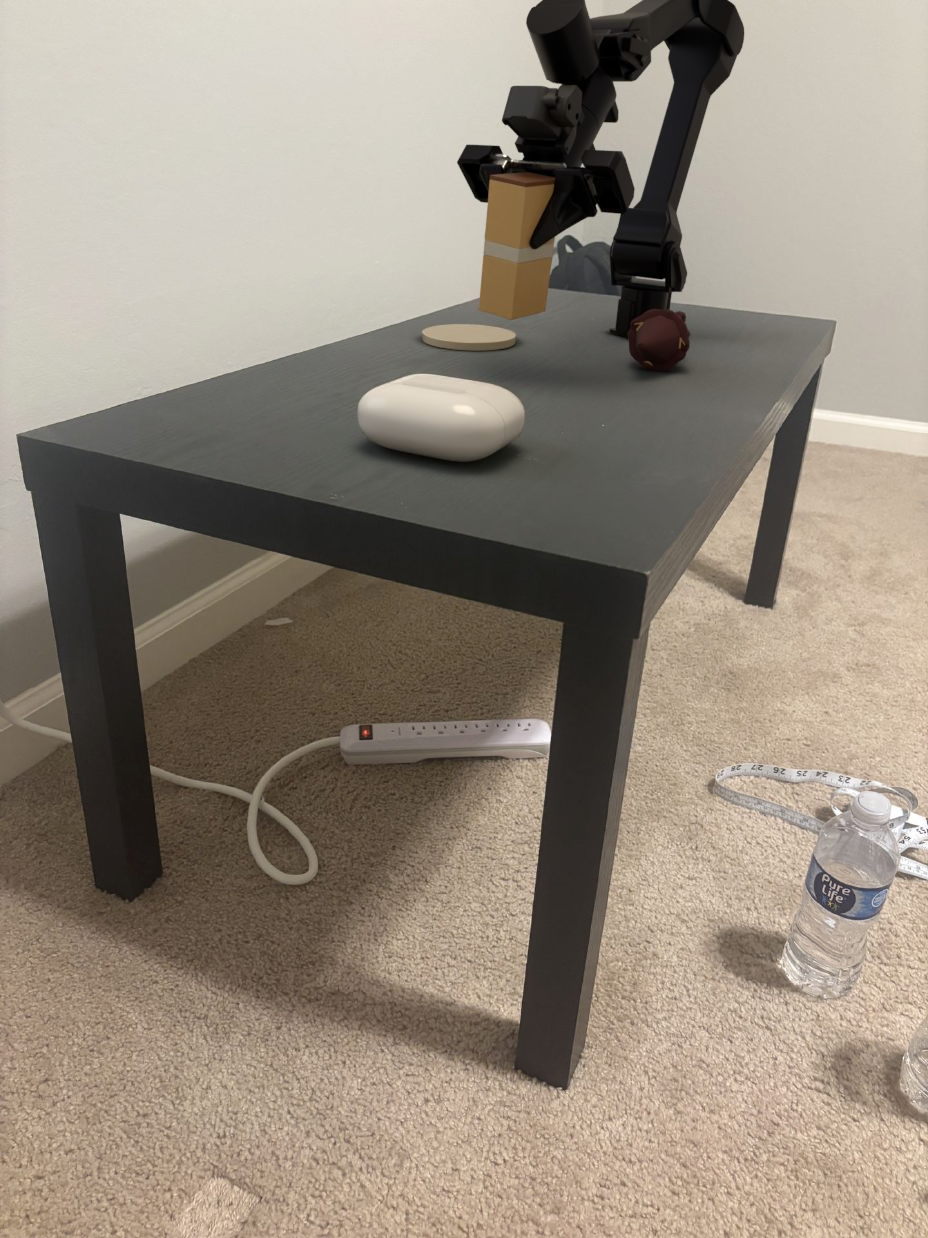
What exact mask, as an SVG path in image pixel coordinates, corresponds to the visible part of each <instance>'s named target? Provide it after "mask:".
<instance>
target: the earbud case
mask: <svg viewBox="0 0 928 1238" xmlns="http://www.w3.org/2000/svg"><path fill="white" fill-rule="evenodd" d="M356 407H357V409H356V416H357V417H356V419H357V424H358V428H359V429H360V431H361V432H362V434H363V435H364V436H365V437H366V438H367V439H368V440H370V441H371V442H372V443H374V444H376V445H378V446H381V447H383V448H386V449H389V450H394V451H398V452H403V453H408V454H413V455H417V456H423V457H428V458H433V459H439V460H444V461H448V462H449V461H450V462H455V463H468V462H475V461H480V460H483V459H485V458H487V457H489V456H492V455H493V454H495V453H497V452H498V451H500V450H502V449H503V448H505V447H506V446H508V445H509V444H511V443H512V442H515V440H517V438H519V437H520V435H521V434H522V432H523V431H524V428H525V423H526V410H525V406H524V404H523V403H522V401H521V400H520V399H519V397H518V396H517V395H516V394H515V393H513V392H512V391H510V390H509V389H506V388H505V387H503V386H500V385H497V384H493V383H489V382H483V381H479V380H473V379H472V380H471V379H466V378H461V377H460V378H459V377H453V376H446V375H439V374H433V373H413V374H409V375H404V376H402V377H399V378H396V379H393V380H390V381H388V382H386V383H383V384H380V385H377V386H376V387H373V388H372V389H370V390H369V391H367V392H366V393H365V394H364V395H363V396H362V397H361V398H360V399H359V401H358V404H357V406H356Z"/></svg>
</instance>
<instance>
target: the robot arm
mask: <svg viewBox="0 0 928 1238" xmlns="http://www.w3.org/2000/svg"><path fill="white" fill-rule="evenodd" d="M525 24H526V28H527V30H528V31H527V32H528V33H529V36H530V39H531V42H532V45H533V47H534V50H535V52H536V55H537V58H538V60H539V64H540V66H541V69H542V72H543V75H544V76H545V77H544V78H545V80H546V81H548V82H550V83H552V84H557V85H559V87H558V88H557V87H548V86H545V85H512V86H510V88H509V92H508V96H507V99H506V103H505V106H504V110H503V114H502V118H501V122H502V124H503V125H504V126H507V127H509V129H510V130H512V132H514V134H515V135H516V136H517V137H516V139H515V142H514V146H515V148H516V150H517V153H519V154H522V155H523V156H522V157H523V158H522V159H512V158H511V157H510V156H509V155H507V154H505V153H504V152H503V150H502V148H501V145H491V144H466V145H465V146H464V148H463V150H462V152H461V154H460V155H459V158H458V160H457V161H456V163H457V165H458V167H459V170H460V171H461V174H462V175H463V177H464V180H465V181H466V184H467V185H468V187H469V189H470V191H471V193H472V195H473V197H474V199H476V200H477V201H479V202H480V203H485V204H488V195H489V183H490V175H496V174H508V173H520V172H530V173H535V174H540V175H545V176H550V177H555V183H554V189H553V193H552V196H551V198H550V200H549V202H548V204H547V206H546V208H545V210H544V212H543V214H542V216H541V218H540V220H539V222H538V224H537V226H536V228H535V230H534V232H533V234H532V237H531V239H530V245H531V247H532V249H538V248H539V247H541V246H542V245H544V244H545V243H546V242H548V241H549V240H551V239H552V238H554V237H555V238H556V237H557V236H558V235H560V234H562V233H563V232H564V231H566V230H568V229H570V228H571V227H573V226H575V225H576V224H578V223H581V222H582V221H584V220H586V219H587V218H595V217H596V216H597V214H598V209H599V211H600V213H604V214H605V213H606V214H618V215H619V214H620V215H619V220H618V224H617V228H616V231H615V233H614V235H613V236H612V242H611V245H610V248H609V265H610V284H611V286H613V287H617V286H620V287H621V291H620V298H618V301H617V312H616V320H615V327H610V328H609V330H608V333H611V334H616V335H619V336H622V337H626V338H628V335H627V334H628V331H629V330H630V323H631V321H633V320H634V319H635V318H637V317H639V316H641V315H642V314H644V313H645V312H646V311H648V310H650V309H662V310H665V309H669V310H671V302H672V296H673V295H672V294H673V293H681V292H683V289H684V288H685V284H686V283H687V278H688V270H687V267H686V262H685V259H684V256H683V252H682V251H683V250H682V248H681V244H682V239H683V233H682V229H681V225H680V221H679V217H678V214H677V213H678V209H679V205H680V201H681V198H682V195H683V192H684V188H685V184H686V181H687V177H688V174H689V170H690V168H691V164H692V161H693V158H694V157H693V156H694V154H695V151H696V147H697V143H698V140H699V137H700V133H701V130H702V126H703V124H704V119H705V116H706V114H707V113H706V112H707V109H708V106H709V102H710V99H711V97H712V95H713V94H714V93H715V92H716V91H717V90H718V89H719V88H720V87H721V86H722V85H723V84H724V83H725V82H726V81H727V80H728V78H729V77H730V76H731V74H732V72H733V69H734V66H735V63H736V60H737V57H738V56H739V55H740V54H741V52H742V49H743V47H744V46H743V45H744V40H745V26H744V22H743V20H742V18H741V16H740V13H739V12H738V9H737V7H736V5H735V4H734V3H733V2H731V1H730V0H641V1H639V2H638V3H636V4H635V5H633V6H632V7H630V8H629V9H627V10H625V11H624V12H621V13H615V14H609V15H600V16H596V17H590V14H589V10H588V8H587V3H586V0H541V1H539V2H538V3H537V4H536V5H535V6H532V7H531V8H530V10H529V11H528V14H527V17H526V20H525ZM663 42H664V43H665V45H666V47H667V49H668V57H667V60H668V65H669V68H670V73H671V76H672V80H673V84H672V89H671V92H670V96H669V99H668V102H667V106H666V110H665V113H664V117H663V121H662V124H661V127H660V131H659V134H658V138H657V141H656V145H655V148H654V152H653V156H652V159H651V162H650V166H649V169H648V171H647V175H646V180H645V183H644V186H643V189H642V190H643V191H642V193H641V197H640V200H639V201H638V202H637V203H636V204H635V205H633V207H630V206H631V204H632V202H633V201H634V197H635V189H636V188H635V186H634V182H633V177H632V175H631V172H630V169H629V166H628V165H629V164H628V162H627V159H626V157H625V154H624V153H623V151H622V150H606V149H605V150H604V149H603V150H601V149H596V147H595V144H594V142H595V140H596V138H597V136H598V134H599V132H600V130H601V129H602V126H603V124H604V123H605V124H606V123H607V124H608V123H610V124H613V123H615V124H616V123H618V121H619V108H618V104H617V100H616V99H617V91H616V87H615V84H614V83H615V82H616V83H617V82H618V83H619V82H620V83H621V82H622V83H624V82H629V83H631V82H635V81H637V80H638V79H639V78H640V77H641V75H642V74H643V73H644V72H645V71H646V69H647V68H648V67H649V66H650V64H651V63H652V51H653V49H655V48H656V47H658V46H659V45H661V44H662V43H663ZM582 165H583V166H582ZM597 207H598V208H597ZM663 280H664V281H663Z"/></svg>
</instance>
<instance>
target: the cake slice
mask: <svg viewBox="0 0 928 1238" xmlns="http://www.w3.org/2000/svg"><path fill="white" fill-rule="evenodd" d="M554 183H555V177H550V176H545V175H540V174H535V173H530V172H520V173H508V174H496V175H490V183H489V195H488V203H487V207H486V217H485V219H486V220H485V228H484V229H485V230H484V242H483V255H482V256H483V257H482V267H481V276H480V277H481V279H480V290H479V302H478V311H481V312H484V313H487V314H490V315H493V316H496V317H500V318H503V319H506V320H509V321H513V320H518V319H522V318H526V317H529V316H533V315H536V314H541V313H545V312H546V309H547V302H548V295H549V294H548V293H549V286H550V280H551V279H550V278H551V271H552V261H553V255H554V254H553V253H554V247H555V240H556V236H555V237H554V238H552V239H551V240H549V241H548V242H546V243H545V244H544V245H542V246H541V247H539V248H538V249H532V247H531V245H530V239H531V237H532V234H533V232H534V230H535V228H536V226H537V224H538V222H539V220H540V218H541V216H542V214H543V212H544V210H545V208H546V206H547V204H548V202H549V200H550V198H551V196H552V193H553V189H554Z"/></svg>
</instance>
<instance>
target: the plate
mask: <svg viewBox="0 0 928 1238" xmlns="http://www.w3.org/2000/svg"><path fill="white" fill-rule="evenodd" d="M421 340H422V342H423V343H425V344H427V345H429V346H432V347H436V348H440V349H447V350H452V351H453V350H454V351H468V352H469V351H472V352H475V351H476V352H478V351H479V352H480V351H481V352H483V351H497V350H503V349H509V348H510V347H513V346H515V344H516V343H517V342H516V341H517V334H516V333H515V332H514V331H512V330H509V329H507V328H503V327H498V326H492V325H485V324H472V323H471V324H470V323H453V324H439V325H438V324H437V325H433V326H429V327H426V328H424V329H423V330H422V332H421Z"/></svg>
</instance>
